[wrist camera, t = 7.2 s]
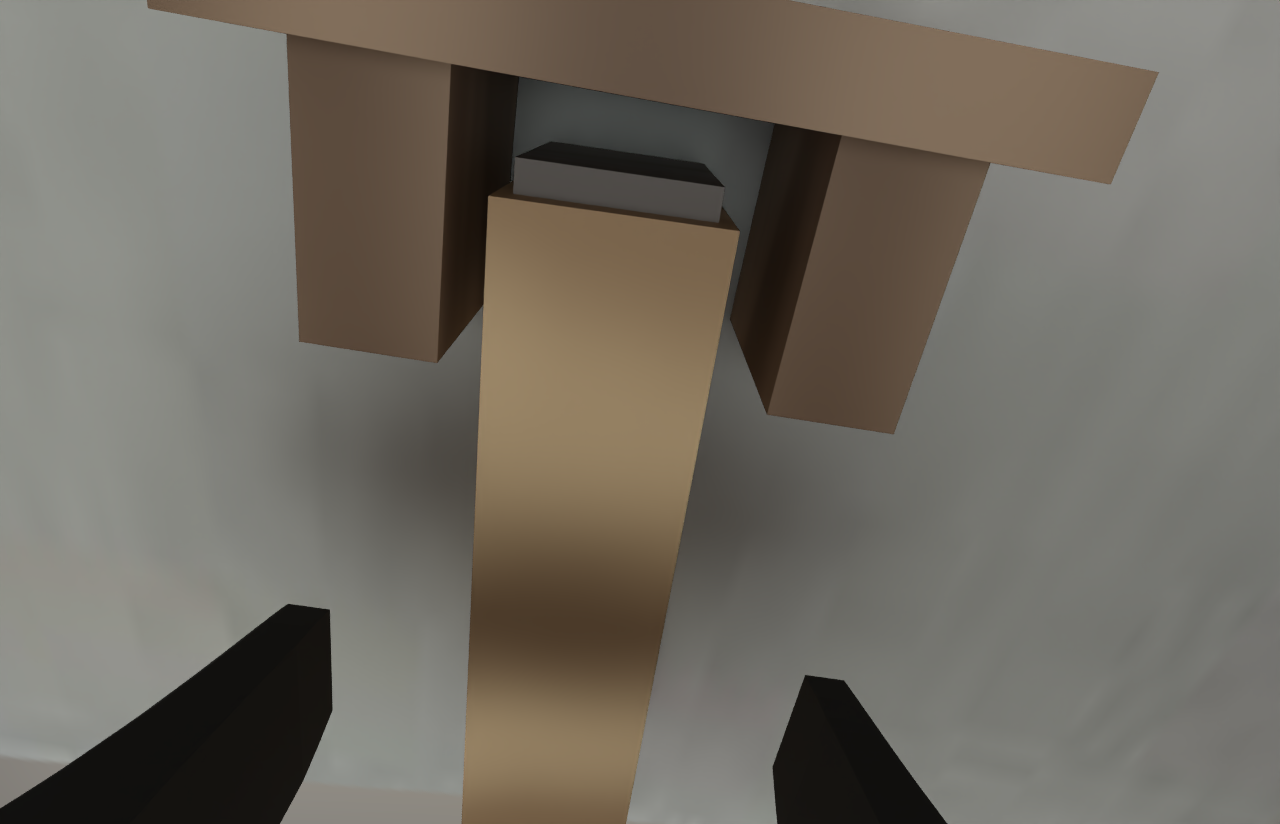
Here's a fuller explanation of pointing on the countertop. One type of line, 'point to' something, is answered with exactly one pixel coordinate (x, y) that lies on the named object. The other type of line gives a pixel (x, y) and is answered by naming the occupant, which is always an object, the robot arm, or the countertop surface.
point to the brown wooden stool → (695, 78)
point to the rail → (584, 467)
